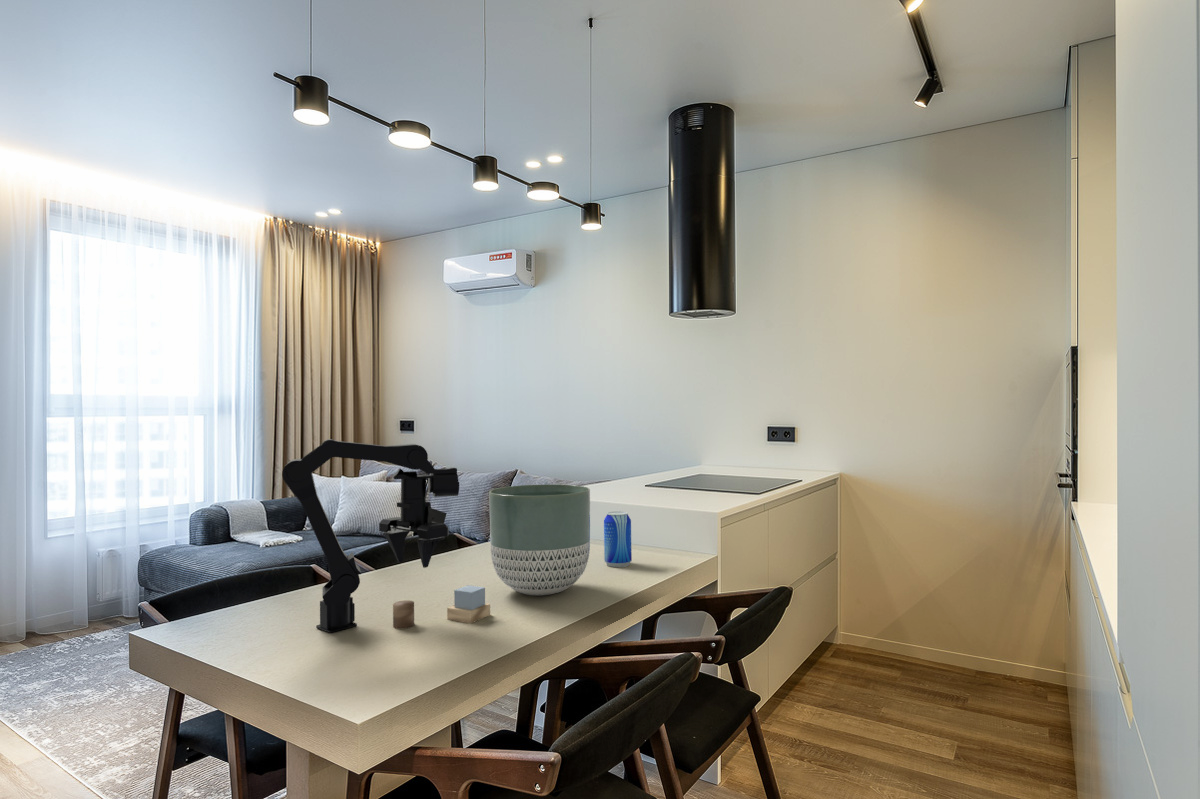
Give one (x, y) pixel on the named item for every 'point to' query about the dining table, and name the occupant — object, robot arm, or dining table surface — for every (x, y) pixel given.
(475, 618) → the base block
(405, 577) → the dining table surface
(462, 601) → the top block
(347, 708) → the dining table surface
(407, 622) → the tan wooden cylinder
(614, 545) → the beer can
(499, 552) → the planter
